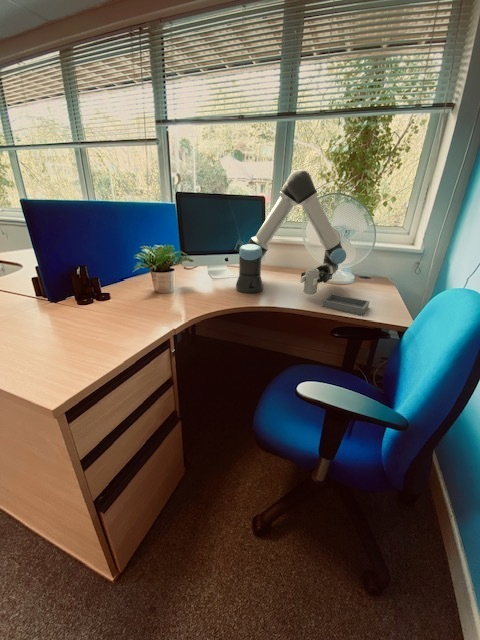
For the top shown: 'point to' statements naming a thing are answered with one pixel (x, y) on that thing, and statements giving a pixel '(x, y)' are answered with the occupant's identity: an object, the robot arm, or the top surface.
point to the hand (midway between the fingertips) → (307, 281)
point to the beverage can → (310, 281)
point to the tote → (346, 304)
